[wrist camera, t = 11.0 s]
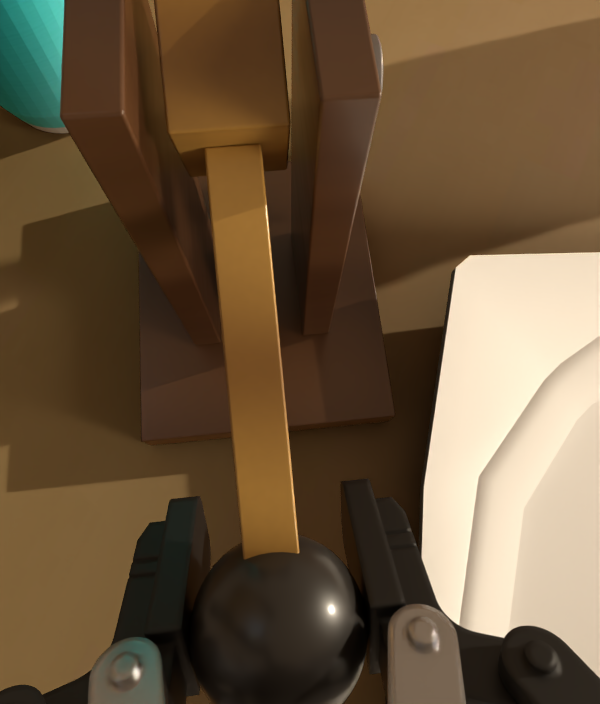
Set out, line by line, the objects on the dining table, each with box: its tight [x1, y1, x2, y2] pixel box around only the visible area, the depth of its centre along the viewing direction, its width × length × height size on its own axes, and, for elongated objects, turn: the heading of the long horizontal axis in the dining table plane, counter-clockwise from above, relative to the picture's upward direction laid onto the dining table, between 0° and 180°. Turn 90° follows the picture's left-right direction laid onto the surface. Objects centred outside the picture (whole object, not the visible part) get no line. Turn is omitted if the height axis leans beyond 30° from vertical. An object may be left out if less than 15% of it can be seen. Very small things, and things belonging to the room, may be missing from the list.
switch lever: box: [154, 0, 368, 704], centre depth 10 cm, size 14×4×4 cm, turn 6°
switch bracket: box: [60, 0, 395, 445], centre depth 15 cm, size 11×9×13 cm
